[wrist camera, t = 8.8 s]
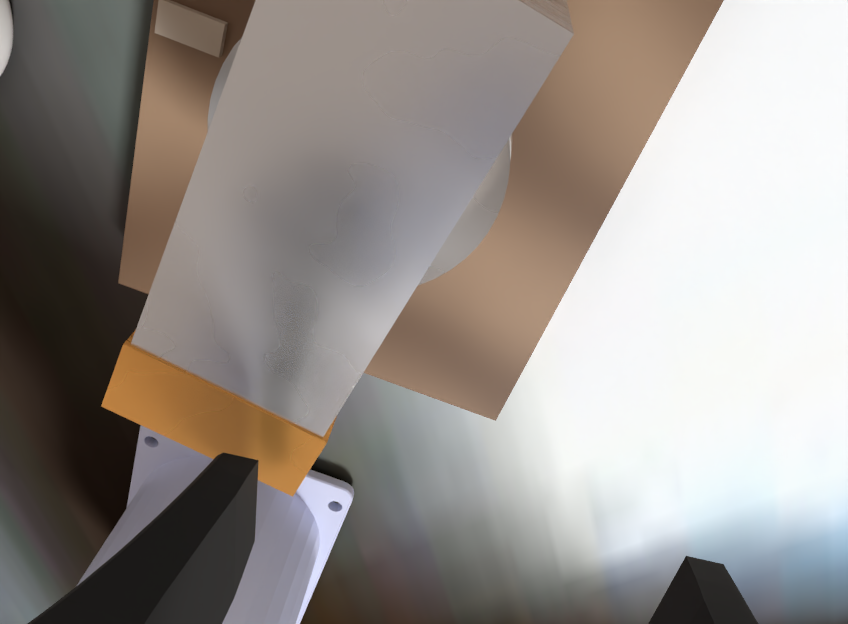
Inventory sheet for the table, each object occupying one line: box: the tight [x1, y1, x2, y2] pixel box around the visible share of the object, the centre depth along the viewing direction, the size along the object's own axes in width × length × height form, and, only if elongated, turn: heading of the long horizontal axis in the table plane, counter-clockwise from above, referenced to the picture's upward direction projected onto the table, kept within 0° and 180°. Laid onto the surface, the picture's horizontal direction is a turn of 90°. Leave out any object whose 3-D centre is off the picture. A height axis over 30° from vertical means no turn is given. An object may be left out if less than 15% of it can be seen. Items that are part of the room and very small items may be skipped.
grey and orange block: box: [101, 0, 574, 497], centre depth 13 cm, size 6×9×5 cm, turn 152°
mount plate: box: [118, 0, 724, 421], centre depth 17 cm, size 16×12×4 cm
